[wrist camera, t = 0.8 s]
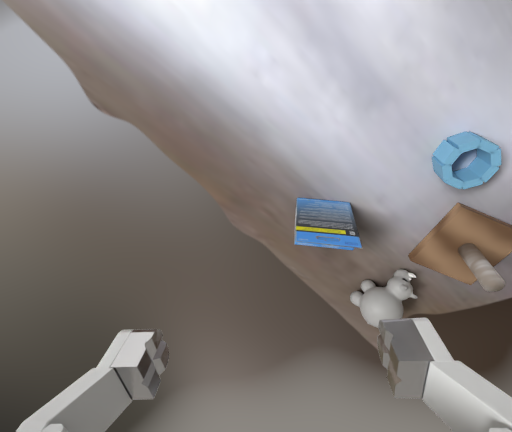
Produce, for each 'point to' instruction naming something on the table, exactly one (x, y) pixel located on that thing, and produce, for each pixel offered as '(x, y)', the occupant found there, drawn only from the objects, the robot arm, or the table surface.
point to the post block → (466, 247)
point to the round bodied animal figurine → (384, 298)
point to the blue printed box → (325, 224)
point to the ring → (477, 170)
